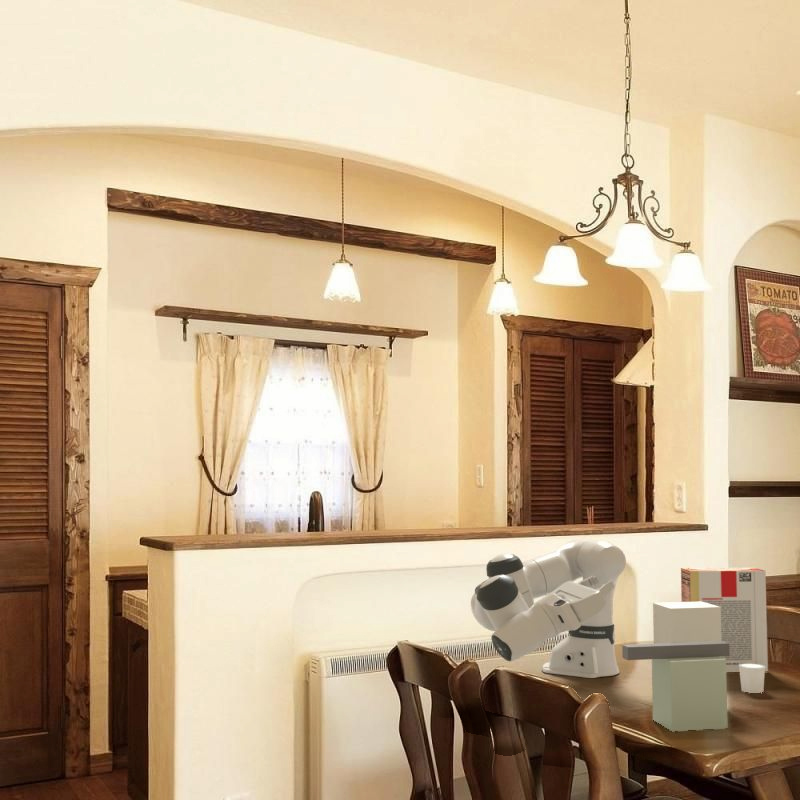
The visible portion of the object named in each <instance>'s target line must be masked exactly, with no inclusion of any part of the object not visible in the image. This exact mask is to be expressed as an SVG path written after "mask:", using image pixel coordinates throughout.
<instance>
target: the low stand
mask: <svg viewBox="0 0 800 800" xmlns="http://www.w3.org/2000/svg"><path fill="white" fill-rule="evenodd" d="M651 682H652V683H651V686H652V688H651V691H652V693H651V695H652V697H651V698H652V701H651V702H652V721H653V720H654V721H653V722H655V721H656V722H657V724H658V723H659V724H658V725H660V724H661V725H662V727H663V726H664V727H663V728H665V729H666V728H667V729H666V730H668V729H669V730H668V731H669V732H671V731H672V732H671V733H675V731H678V732H689V731H688V730H696V731H704V730H703V729H714V730H726V729H725V728H728V695H727V694H728V691H727V688H728V687H727V685H728V684H727V673H726V659H724V658H721V657H695V658H671V659H651ZM656 722H655V723H656ZM661 725H660V726H661Z"/></svg>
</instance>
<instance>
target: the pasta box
mask: <svg viewBox="0 0 800 800" xmlns="http://www.w3.org/2000/svg"><path fill="white" fill-rule="evenodd" d="M680 579H681V580H680V586H681V587H680V589H681V593H680V595H681V602H701V601H702V602H705V603H709V604H712V605H715V606H719V607H721V641H724V642H727V643H729V650H730V656H722V658H724V659H726V672H739V664H742V663H754V664H760V665H764V666H765V671H768V672H769V660H768V623H767V622H768V621H767V620H768V619H767V618H768V617H767V581H766V579H767V577H766V570H764V569H760V568H757V567H681V568H680Z"/></svg>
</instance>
